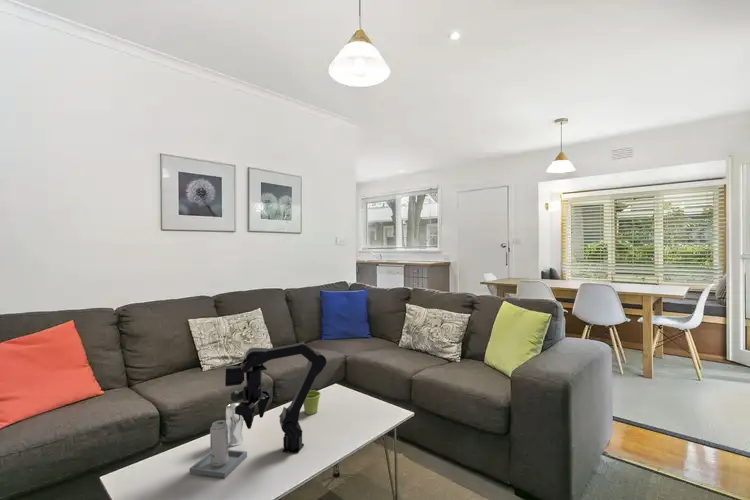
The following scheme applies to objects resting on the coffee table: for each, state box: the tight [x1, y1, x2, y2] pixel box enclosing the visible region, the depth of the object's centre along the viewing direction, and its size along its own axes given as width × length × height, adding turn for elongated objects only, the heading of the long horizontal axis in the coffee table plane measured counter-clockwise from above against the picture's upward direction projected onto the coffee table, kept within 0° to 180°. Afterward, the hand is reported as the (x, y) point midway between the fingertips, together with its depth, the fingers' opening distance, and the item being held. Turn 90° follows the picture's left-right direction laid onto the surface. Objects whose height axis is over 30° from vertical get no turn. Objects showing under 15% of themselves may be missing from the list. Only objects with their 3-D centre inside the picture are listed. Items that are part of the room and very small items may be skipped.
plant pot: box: [303, 390, 321, 415], centre depth 183 cm, size 9×9×9 cm
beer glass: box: [225, 402, 244, 447], centre depth 155 cm, size 7×7×15 cm
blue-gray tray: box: [188, 449, 248, 480], centre depth 138 cm, size 14×14×2 cm
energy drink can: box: [209, 419, 229, 468], centre depth 138 cm, size 6×6×15 cm
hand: (255, 422), depth 144 cm, fingers open, 9 cm apart
